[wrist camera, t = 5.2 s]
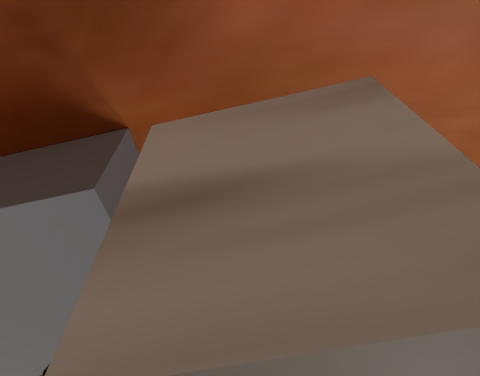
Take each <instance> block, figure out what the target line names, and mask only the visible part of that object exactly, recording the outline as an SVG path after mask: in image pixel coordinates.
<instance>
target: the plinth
mask: <svg viewBox="0 0 480 376" xmlns="http://www.w3.org/2000/svg"><path fill="white" fill-rule="evenodd" d="M139 155H140V154H139V152H138V150H137V147H136V145H135V143H134V140H133V138H132V136H131V133H130V131H129V129H128V128H126V129H122V130H117V131H113V132H108V133H104V134H99V135H95V136H91V137H86V138H82V139H77V140H73V141H68V142H64V143H60V144H55V145H51V146H46V147H42V148H37V149H33V150H28V151H24V152H20V153H15V154H11V155H6V156H2V157H0V376H40V375H42V372H43V371H44V369H45V368H46V367H47V366H48V365H49V364H50V362H51V360H52V357H53V355H54V353H55V350H56V348H57V346H58V343H59V341H60V339H61V336H62V334H63V332H64V329H65V327H66V325H67V322H68V320H69V318H70V315H71V313H72V311H73V308H74V306H75V304H76V301H77V299H78V297H79V294H80V292H81V290H82V287H83V285H84V283H85V280H86V278H87V276H88V273H89V271H90V269H91V266H92V264H93V262H94V259H95V257H96V255H97V252H98V250H99V248H100V245H101V243H102V241H103V238H104V236H105V234H106V231H107V229H108V227H109V224H110V222H111V220H112V217H113V215H114V213H115V210H116V208H117V206H118V203H119V201H120V199H121V196H122V194H123V192H124V189H125V187H126V185H127V182H128V180H129V178H130V176H131V173H132V171H133V169H134V166H135V164H136V162H137V159H138V157H139Z"/></svg>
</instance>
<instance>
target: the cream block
mask: <svg viewBox="0 0 480 376" xmlns="http://www.w3.org/2000/svg"><path fill="white" fill-rule="evenodd" d="M45 376H480V168H479V167H478V166H477V165H475V164H474V163H473V162H472V161H471V160H469V159H468V158H467V157H466V156H465V155H464V154H462V153H461V152H460V151H459V150H458V149H457V148H455V147H454V146H453V145H452V144H451V143H450V142H448V141H447V140H446V139H445V138H444V137H442V136H441V135H440V134H439V133H438V132H437V131H435V130H434V129H433V128H432V127H431V126H430V125H428V124H427V123H426V122H425V121H424V120H423V119H421V118H420V117H419V116H418V115H417V114H415V113H414V112H413V111H412V110H411V109H410V108H408V107H407V106H406V105H405V104H404V103H403V102H401V101H400V100H399V99H398V98H397V97H395V96H394V95H393V94H392V93H391V92H390V91H388V90H387V89H386V88H385V87H384V86H383V85H381V84H380V83H379V82H378V81H377V80H376V79H374V78H373V77H372V76H370V77H366V78H361V79H357V80H353V81H348V82H344V83H339V84H335V85H330V86H326V87H321V88H317V89H313V90H308V91H304V92H299V93H295V94H290V95H286V96H281V97H277V98H273V99H268V100H264V101H259V102H255V103H250V104H246V105H241V106H237V107H233V108H228V109H224V110H219V111H215V112H210V113H206V114H201V115H197V116H193V117H188V118H184V119H179V120H175V121H170V122H166V123H161V124H157V125H153V126H152V127H151V129H150V131H149V134H148V136H147V138H146V141H145V143H144V145H143V148H142V150H141V152H140V155H139V157H138V159H137V162H136V164H135V166H134V169H133V171H132V173H131V176H130V178H129V180H128V182H127V185H126V187H125V189H124V192H123V194H122V196H121V199H120V201H119V203H118V206H117V208H116V210H115V213H114V215H113V217H112V220H111V222H110V224H109V227H108V229H107V231H106V234H105V236H104V238H103V241H102V243H101V245H100V248H99V250H98V252H97V255H96V257H95V259H94V262H93V264H92V266H91V269H90V271H89V273H88V276H87V278H86V280H85V283H84V285H83V287H82V290H81V292H80V294H79V297H78V299H77V301H76V304H75V306H74V308H73V311H72V313H71V315H70V318H69V320H68V322H67V325H66V327H65V329H64V332H63V334H62V336H61V339H60V341H59V343H58V346H57V348H56V350H55V353H54V355H53V357H52V360H51V362H50V364H49V367H48V369H47V371H46V374H45Z"/></svg>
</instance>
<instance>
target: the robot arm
mask: <svg viewBox="0 0 480 376" xmlns="http://www.w3.org/2000/svg"><path fill="white" fill-rule="evenodd" d="M48 367H49V365H48V366H47V367H46V368H45V369H44V371H43V372H42V375H40V376H45V374H46V371H47V369H48Z"/></svg>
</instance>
